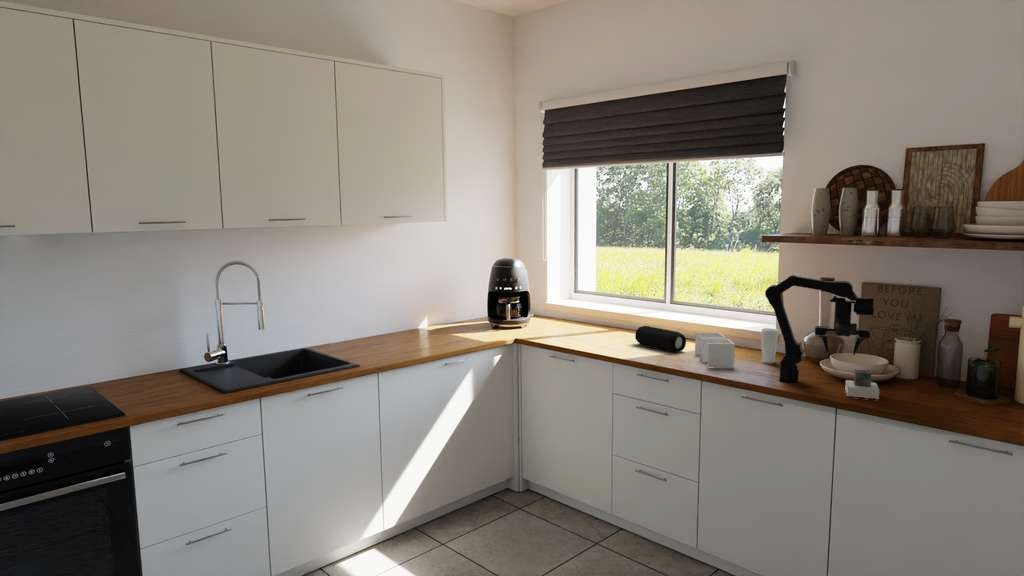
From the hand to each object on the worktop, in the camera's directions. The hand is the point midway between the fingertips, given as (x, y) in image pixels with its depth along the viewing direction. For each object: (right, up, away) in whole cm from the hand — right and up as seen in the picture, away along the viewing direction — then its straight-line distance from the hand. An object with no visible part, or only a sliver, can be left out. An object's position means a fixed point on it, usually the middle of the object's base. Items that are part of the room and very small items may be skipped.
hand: (840, 353), depth 249 cm
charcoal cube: (+2, -10, -11) cm, 15 cm away
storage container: (-36, -8, +43) cm, 57 cm away
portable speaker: (-54, -5, +71) cm, 89 cm away
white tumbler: (-12, -8, +41) cm, 43 cm away
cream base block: (+3, -14, -10) cm, 18 cm away
